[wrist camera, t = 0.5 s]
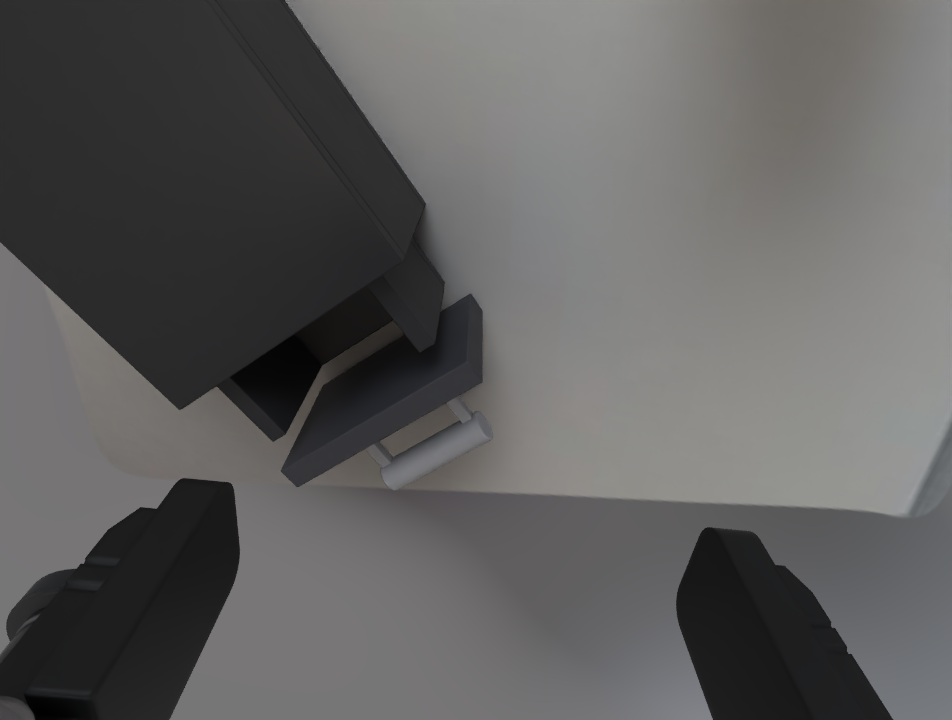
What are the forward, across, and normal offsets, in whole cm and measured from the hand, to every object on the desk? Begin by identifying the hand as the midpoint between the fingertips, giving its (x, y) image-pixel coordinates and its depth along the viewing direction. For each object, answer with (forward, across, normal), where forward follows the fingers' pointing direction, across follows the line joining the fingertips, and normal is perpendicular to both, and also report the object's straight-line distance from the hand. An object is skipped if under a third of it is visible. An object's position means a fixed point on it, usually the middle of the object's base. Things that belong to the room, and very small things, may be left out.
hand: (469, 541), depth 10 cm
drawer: (+21, -6, -5) cm, 22 cm away
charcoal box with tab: (+22, -12, +2) cm, 25 cm away
